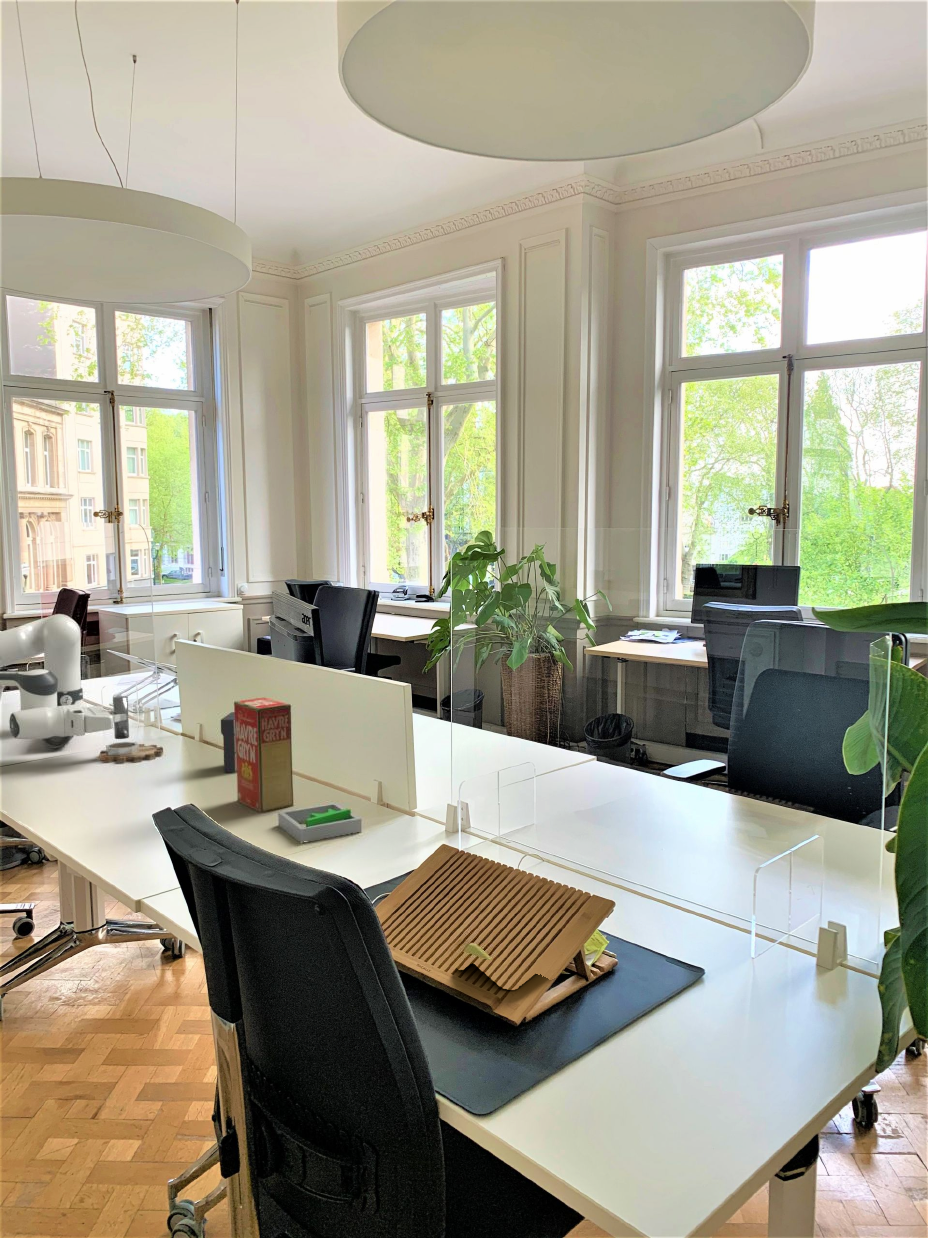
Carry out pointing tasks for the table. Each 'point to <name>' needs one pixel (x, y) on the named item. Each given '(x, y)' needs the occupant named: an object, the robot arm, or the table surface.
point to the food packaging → (263, 754)
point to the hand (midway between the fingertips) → (124, 715)
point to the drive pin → (122, 726)
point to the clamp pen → (316, 832)
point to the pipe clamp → (328, 817)
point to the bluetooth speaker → (57, 741)
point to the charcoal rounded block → (229, 743)
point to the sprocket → (129, 752)
